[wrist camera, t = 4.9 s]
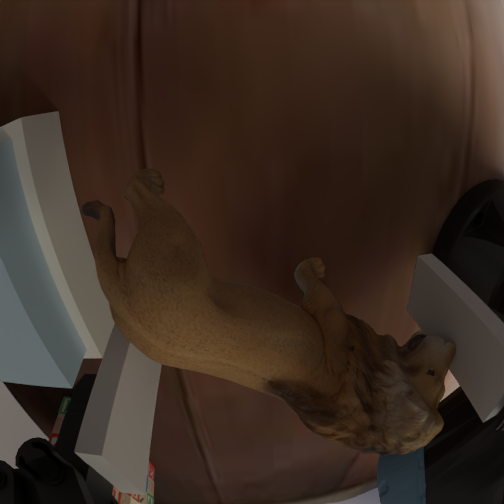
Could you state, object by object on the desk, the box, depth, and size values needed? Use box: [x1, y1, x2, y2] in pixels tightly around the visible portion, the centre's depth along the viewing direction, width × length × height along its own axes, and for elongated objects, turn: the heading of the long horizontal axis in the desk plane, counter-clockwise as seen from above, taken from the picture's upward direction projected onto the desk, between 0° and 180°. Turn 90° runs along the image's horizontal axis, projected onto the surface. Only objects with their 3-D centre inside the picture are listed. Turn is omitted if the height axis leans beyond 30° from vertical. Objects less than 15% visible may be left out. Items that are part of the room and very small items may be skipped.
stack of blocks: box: [49, 396, 155, 504], centre depth 30 cm, size 21×6×12 cm, turn 4°
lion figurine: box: [82, 169, 456, 456], centre depth 10 cm, size 15×5×9 cm, turn 66°
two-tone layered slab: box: [0, 111, 115, 388], centre depth 17 cm, size 10×18×9 cm, turn 5°
